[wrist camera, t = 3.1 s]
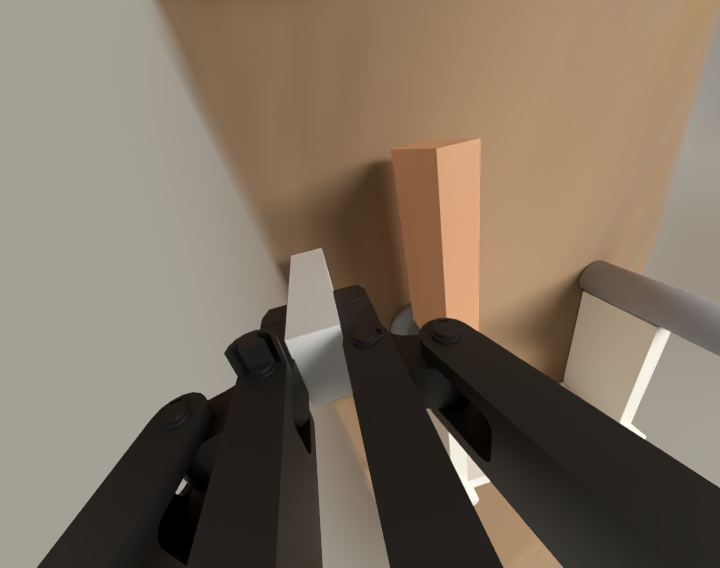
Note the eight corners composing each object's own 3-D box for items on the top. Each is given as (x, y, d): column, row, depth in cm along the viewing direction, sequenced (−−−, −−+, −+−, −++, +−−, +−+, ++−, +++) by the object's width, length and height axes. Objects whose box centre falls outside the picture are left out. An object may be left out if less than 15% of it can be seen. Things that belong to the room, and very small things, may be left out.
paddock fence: (385, 310, 18) (452, 433, 10) (614, 244, 20) (827, 308, 12) (410, 442, 25) (461, 575, 17) (577, 386, 27) (693, 486, 19)
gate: (445, 345, 19) (513, 436, 13) (408, 356, 19) (460, 454, 13) (431, 139, 13) (549, 129, 7) (376, 152, 13) (448, 153, 7)
